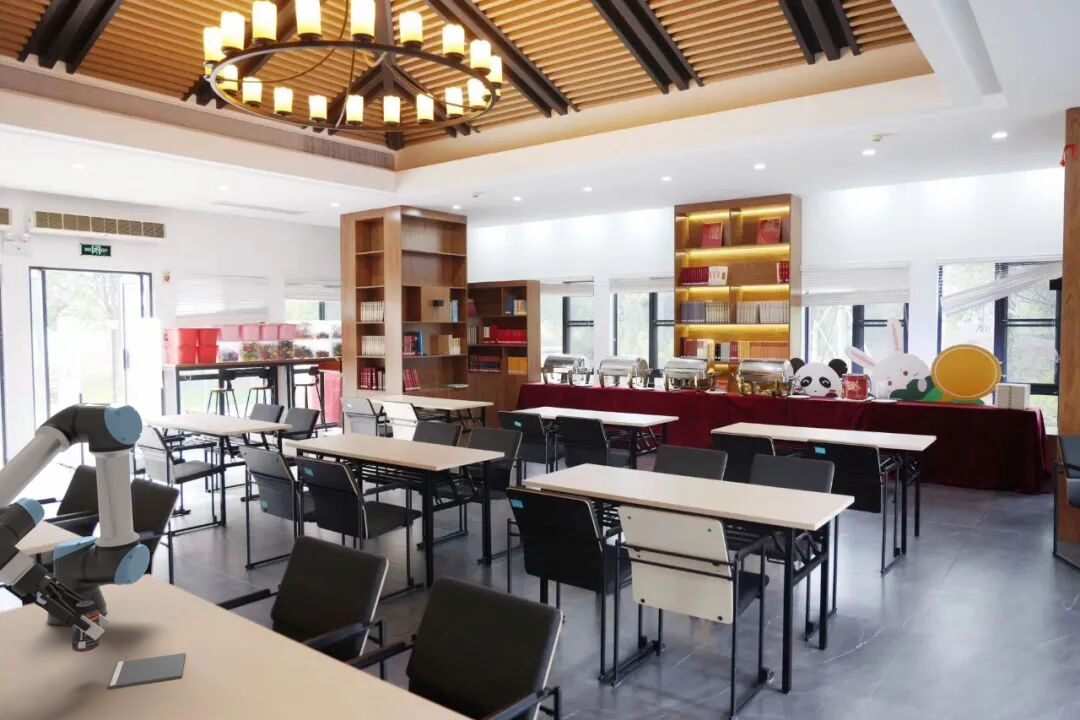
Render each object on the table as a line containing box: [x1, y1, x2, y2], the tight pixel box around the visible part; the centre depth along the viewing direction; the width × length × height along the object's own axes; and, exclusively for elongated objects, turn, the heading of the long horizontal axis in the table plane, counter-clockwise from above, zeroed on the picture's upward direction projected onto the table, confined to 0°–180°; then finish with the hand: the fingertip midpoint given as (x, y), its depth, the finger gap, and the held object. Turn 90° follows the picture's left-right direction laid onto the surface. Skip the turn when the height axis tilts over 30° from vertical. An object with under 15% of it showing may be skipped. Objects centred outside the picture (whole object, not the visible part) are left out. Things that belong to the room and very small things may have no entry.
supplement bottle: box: [71, 601, 101, 653], centre depth 186 cm, size 6×6×11 cm
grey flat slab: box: [107, 652, 186, 690], centre depth 188 cm, size 14×16×1 cm
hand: (102, 629), depth 188 cm, fingers closed on supplement bottle, 6 cm apart
